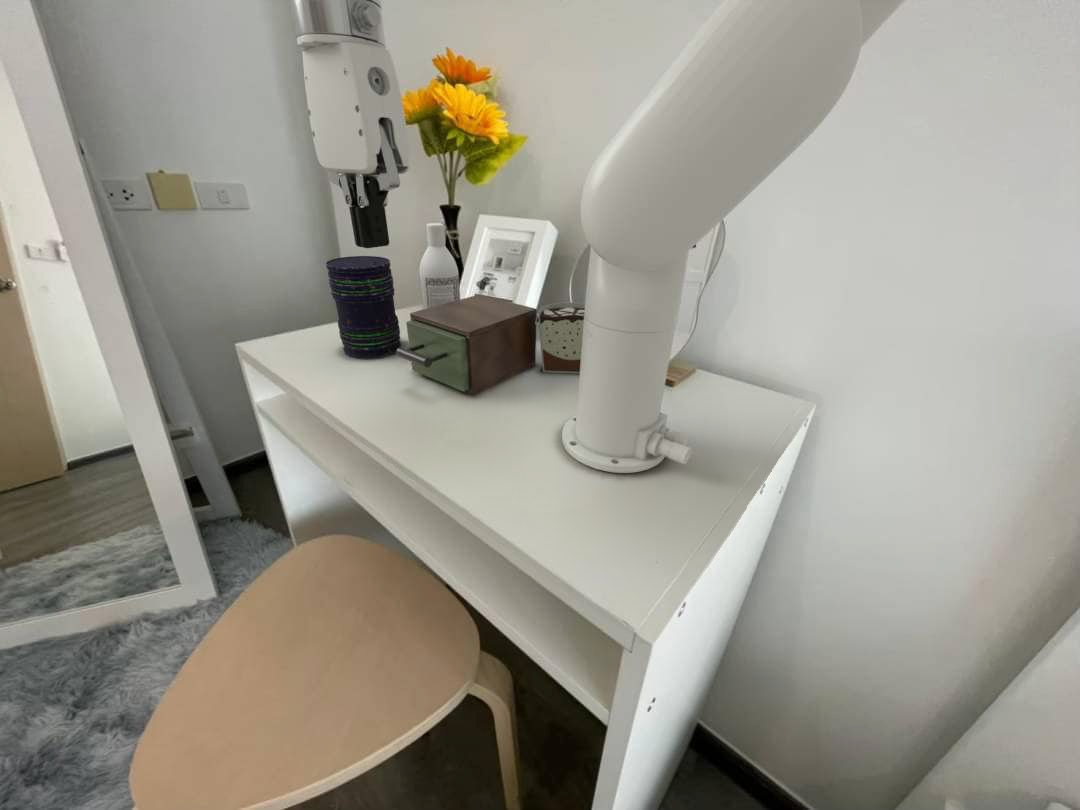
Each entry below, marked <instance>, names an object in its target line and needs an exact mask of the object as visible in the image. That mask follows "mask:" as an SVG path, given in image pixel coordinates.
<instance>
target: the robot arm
mask: <svg viewBox="0 0 1080 810" xmlns="http://www.w3.org/2000/svg"><path fill="white" fill-rule="evenodd" d="M905 1H906V0H723V1H722V2H721V4H720V5H718V7H717V8H716V9H715V10H714V11H713V13H711V15H710V16H709V17H708V18H707V19H706V21H705V22H704V23H703V25H701V27H700V28H699V30H698V31H697V32H696V33H695V34H694V35H693V37H692V38H691V40H689V41H688V43H687V44H686V45H685V47H684V48H683V49H682V51H681V52H680V53H679V55H678V56H677V57H676V58H675V60H674V61H673V62H672V63H671V64H670V66H669V67H668V68H667V70H666V71H665V72H664V73H663V74H662V76H661V77H660V79H658V81H657V82H656V83H655V84H654V86H653V87H652V88H651V90H650V91H649V92H648V94H647V95H646V96H645V97H644V98H643V100H642V101H641V102H640V103H639V104H638V106H637V107H636V108H635V110H634V111H633V112H632V113H631V114H630V115H629V117H628V118H627V119H626V121H625V122H624V123H623V125H622V126H621V127H620V128H619V129H618V131H617V132H616V133H615V135H614V136H613V137H612V138H611V140H610V141H609V142H608V143H607V144H606V146H605V147H604V148H603V150H602V151H601V152H600V153H599V155H598V156H597V158H596V159H595V160H594V162H593V164H592V165H591V167H590V169H589V171H588V173H587V175H586V178H585V180H584V183H583V186H582V189H581V195H580V202H579V203H580V204H579V212H580V222H581V227H582V231H583V234H584V236H585V238H586V240H587V243H588V244H589V246H590V249H589V258H588V259H589V260H588V269H587V277H586V290H585V300H584V301H585V302H584V303H585V312H584V323H583V336H582V349H581V362H580V374H579V378H578V388H577V389H578V392H577V403H576V415H573V416H572V417H571V418H569V419H567V421H566V422H565V424H563V428H562V430H561V442H562V445H563V447H564V450H565V451H566V452H567V453H568V454H569V455H570V456H571V457H572V458H574V460H576V461H578V462H579V463H581V464H583V465H585V466H587V467H590V468H593V469H595V470H598V471H604V472H608V473H615V474H633V473H639V472H643V471H647V470H650V469H652V468H654V467H656V466H658V465H659V464H660V463H662V462H663V460H664V459H665V458H668V459H670V460H672V461H675V462H677V463H680V464H682V465H686V464H687V463H688V461H689V459H690V457H691V454H692V447H690V446H687V444H688V441H689V436H688V435H685V434H683V433H680V432H675V431H672V430H670V427H668V426H667V422H668V417H669V415H668V414H667V413H664V412H661V410H662V409H661V408H662V404H663V398H664V391H665V386H666V382H667V376H668V371H669V364H670V359H671V353H672V349H673V342H674V338H675V332H676V326H677V324H678V319H679V312H680V309H681V303H682V297H683V292H684V291H683V290H684V284H685V278H686V273H687V272H686V271H687V266H688V259H689V251H690V250H691V249H692V248H693V247H695V246H696V245H697V244H698V243H699V242H700V241H702V240H703V238H704V237H705V236H707V235H708V234H709V233H710V232H711V231H712V230H713V229H714V228H715V227H716V226H717V225H719V224H720V223H721V222H722V221H723V220H724V219H725V218H726V217H727V216H728V215H729V214H730V213H731V212H733V210H735V209H736V207H737V206H739V204H741V203H742V202H743V201H744V200H745V199H746V198H747V197H748V196H749V195H750V194H751V193H752V192H753V191H754V190H755V189H756V188H758V187H759V185H761V184H762V183H763V182H764V181H765V180H766V179H767V178H768V177H769V176H770V175H771V174H772V173H773V172H774V171H775V170H776V169H777V168H778V167H780V165H782V163H783V162H785V161H786V160H787V159H788V158H789V157H790V156H791V155H792V154H793V153H794V152H795V151H796V150H797V149H798V148H799V147H800V146H801V145H802V144H803V143H804V142H805V141H806V140H808V138H809V137H810V136H811V135H812V134H813V133H814V132H815V131H816V130H817V129H818V128H819V127H820V125H821V124H822V123H823V122H824V120H825V119H826V118H827V117H828V115H830V113H831V112H832V110H833V109H834V107H836V106H837V104H838V102H839V100H840V99H841V97H842V96H843V94H844V93H845V91H846V89H847V87H848V85H849V83H850V81H851V79H852V77H853V75H854V71H855V69H856V67H857V63H858V61H859V57H860V53H861V48H862V47H863V46H864V45H866V44H867V42H868V41H869V40H870V39H871V38H872V36H874V35H875V33H876V32H877V31H878V30H879V29H880V28H881V27H882V26H883V25H884V23H886V22H887V20H888V19H889V18H890V17H891V16H892V15H893V14H894V13H895V12H896V11H897V10H898V9H899V8H900V6H902V4H903V3H904V2H905ZM289 5H290V11H291V16H292V17H291V18H292V21H293V27H294V32H295V38H296V43H297V47H298V49H300V50H301V51H302V53H301V54H302V67H303V68H302V69H303V79H304V87H305V88H304V89H305V97H306V103H307V111H308V117H309V125H310V129H311V136H312V140H313V145H314V150H315V153H316V158H317V160H318V163H319V164H320V166H321V167H322V168H324V169H325V170H326V171H328V175H329V180H330V182H331V183H332V184H333V185H336V186H338V187H339V188H340V189H341V190H342V193H343V198H344V202H345V204H346V206H348V209H349V214H350V220H351V226H352V227H351V228H352V233H353V237H354V243H355V246H356V247H359V248H363V249H374V248H379V247H381V248H382V247H387V246H389V245H390V237H389V229H388V221H387V214H386V213H387V212H386V207H387V206H388V203H389V202H388V201H389V200H388V194H389V192H390V191H392V190H395V189H397V188H399V187H400V186H401V180H400V175H404V174H406V173H407V172H408V171H409V170H410V168H411V154H410V153H411V152H410V145H409V138H408V130H407V122H406V118H405V110H404V105H403V99H402V94H401V90H400V85H399V80H398V76H397V72H396V69H395V65H394V60H393V59H392V55H391V51H390V50H388V49H387V48H386V39H385V38H386V37H385V29H384V28H385V27H384V20H383V11H382V3H381V0H289Z"/></svg>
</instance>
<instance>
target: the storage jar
mask: <svg viewBox="0 0 1080 810" xmlns="http://www.w3.org/2000/svg"><path fill="white" fill-rule="evenodd" d="M325 266H326V269H327V270H328V271H327V275H328V283H329V287H330V290H331V291H330V293H331V296H332V299H333V300H334V301H335V307H336V312H337V316H338V317H337V318H338V320H337V327H338V329H339V331H338V332H339V337H340V340H341V343H342V346H343V348H342V349H343V353H344V355H345V356H347V357H348V358H352V359H358V360H359V359H360V360H374V359H381V358H385V357H389V356H392V355H394V354H396V351H397V349H398V348H399V347H402V342H401V341H400V340H401V335H400V334H401V328H400V323H399V322H400V321H399V317H398V315H397V314H396V307H395V300H394V299H395V298H394V296H395V287H394V277H393V275H392V269H391V260H390V259H389V258H386V257H384V256H383V257H382V256H374V255H373V256H372V255H355V256H354V255H353V256H344V257H337V258H332V259H329V260H327V261H326V262H325Z"/></svg>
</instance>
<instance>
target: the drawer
mask: <svg viewBox="0 0 1080 810" xmlns="http://www.w3.org/2000/svg"><path fill="white" fill-rule="evenodd" d="M406 331H407V336H408V345H409V347H404V346H401V347H399V348H398V349H397V351H396V353H395V354H396V356H397V357H400V358H401V359H404V360H406V361H409V362H411V369H412V371H414V372H416V373H418V374H421V375H423V376H425V377H428V378H430V379H432V380H435V381H437V382H440V383H442V384H445V385H447V386H449V387H452V388H453V389H456V390H457V391H461V392H464V391H466V390H468V389H470V388H469V371H468V354H467V338H466V336H464V335H461V334H458V333H455V332H452V331H449V330H446V329H443V328H440V327H437V326H434V325H430V324H427V323H424V322H423V323H421V322H418V321H415V320H411V319H410V320H408V321H406ZM464 393H465V392H464Z"/></svg>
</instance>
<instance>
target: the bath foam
mask: <svg viewBox="0 0 1080 810" xmlns="http://www.w3.org/2000/svg"><path fill="white" fill-rule="evenodd" d="M425 228H426V237H427V238H426V239H427V248H426V250H425V251H424V254H423V256H422V257H421V260H420V264H419V270H418V271H419V272H418V273H419V274H418V275H419V284H420V295H421V304H422V310H423V309H427V308H431V307H435V306H438V305H442V304H446V303H449V302H453V301H457V300H461V289H460V275H459V273H460V272H459V268H458V266H457V262H456V259H455V257H453V255H452V254H451V252H450V251H449V249H448V248H447V247H446V238H445V224H443V223H442V222H429V223H426V227H425Z"/></svg>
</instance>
